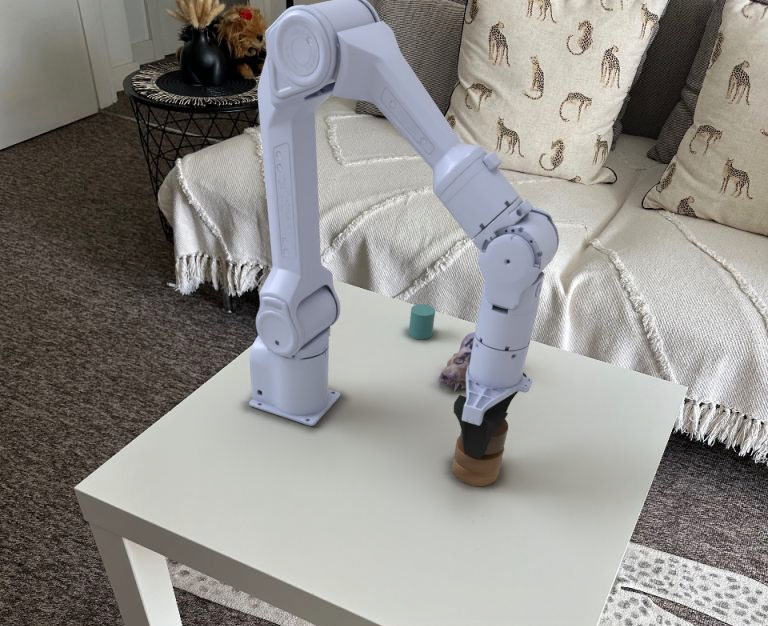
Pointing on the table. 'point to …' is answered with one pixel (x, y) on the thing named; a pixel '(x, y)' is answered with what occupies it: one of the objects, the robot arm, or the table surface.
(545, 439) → the table surface
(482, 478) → the bottom chip
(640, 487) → the table surface
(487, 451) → the walnut chip
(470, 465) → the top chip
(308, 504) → the table surface
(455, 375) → the skull
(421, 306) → the teal cylinder peg
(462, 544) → the table surface
